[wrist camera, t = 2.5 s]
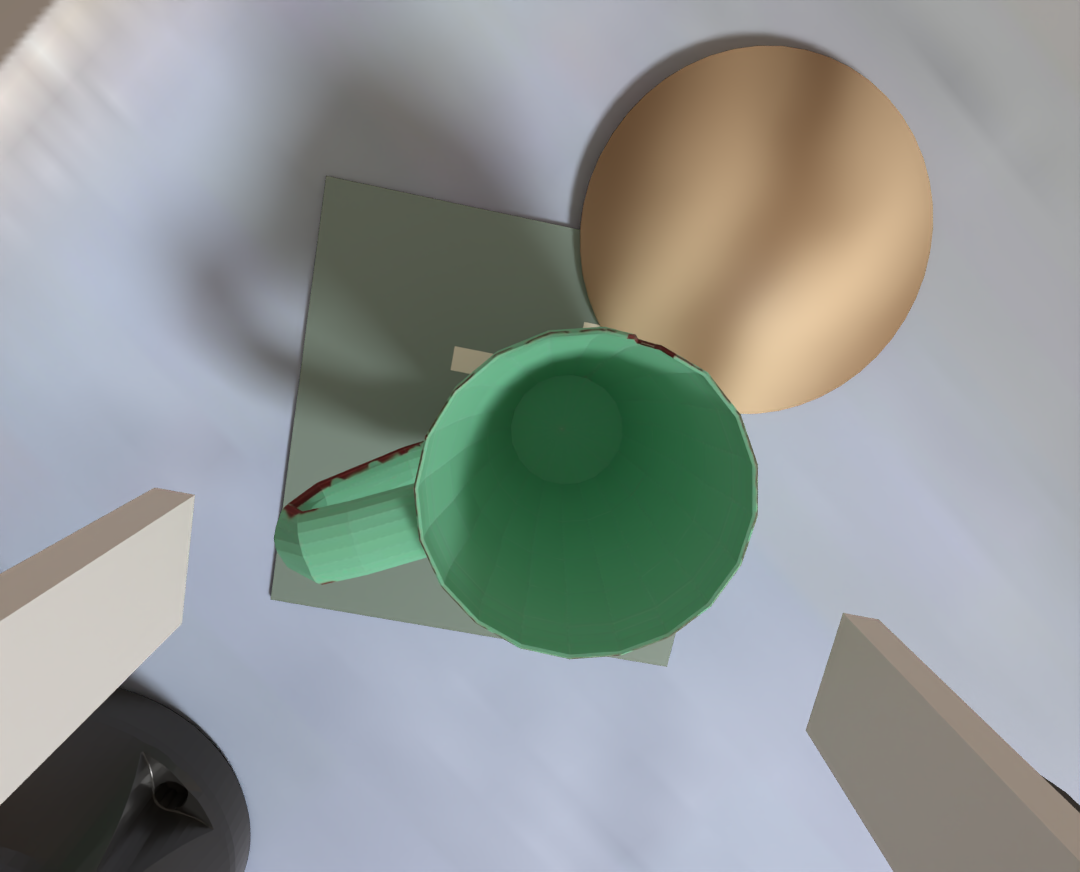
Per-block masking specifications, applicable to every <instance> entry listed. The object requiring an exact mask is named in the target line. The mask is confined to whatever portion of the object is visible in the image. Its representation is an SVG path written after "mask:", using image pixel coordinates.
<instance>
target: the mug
mask: <svg viewBox="0 0 1080 872" xmlns="http://www.w3.org/2000/svg"><path fill="white" fill-rule="evenodd" d="M757 516H758V464H757V461H756V458H755V455H754V452H753V449H752V446H751V443H750V440H749V437H748V435H747V432H746V429H745V426H744V423H743V420H742V417H741V414H740V413H739V412H738V411H737V409H736V408H735V407H734V405H733V404H732V403H731V402H730V400H729V399H728V398H727V396H726V395H725V394H724V393H723V391H722V390H721V389H720V387H719V386H718V385H717V384H716V382H715V381H714V380H713V379H712V377H711V376H710V375H709V373H708V372H706V371H705V370H703V369H701V368H700V367H698V366H696V365H695V364H693V363H691V362H689V361H688V360H686V359H684V358H683V357H681V356H679V355H678V354H676V353H674V352H672V351H671V350H669V349H667V348H666V347H664V346H662V345H659V344H654V343H651V342H647V341H644V340H641V339H638V337H637V336H636V334H632V333H628V332H624V331H620V330H616V329H612V328H608V327H590V328H576V329H561V330H548V331H546V332H543V333H541V334H538V335H536V336H533V337H531V338H528V339H526V340H523V341H521V342H519V343H516V344H514V345H511V346H509V347H506V348H504V349H501V350H499V351H497V352H496V353H494V354H493V355H492V356H491V357H490V358H488V359H487V360H486V361H485V362H484V363H483V364H481V365H480V366H479V367H478V368H477V369H475V370H474V371H473V372H472V373H471V374H470V375H468V376H467V377H466V378H465V379H464V380H462V381H461V382H460V383H459V384H458V385H457V386H455V388H454V389H453V391H452V393H451V394H450V396H449V398H448V399H447V401H446V403H445V404H444V406H443V408H442V409H441V411H440V412H439V414H438V416H437V417H436V419H435V421H434V422H433V424H432V426H431V427H430V429H429V431H428V432H427V434H426V435H425V438H424V441H421V442H418V443H415V444H411V445H408V446H405V447H402V448H400V449H397V450H395V451H392V452H390V453H388V454H385V455H383V456H380V457H378V458H375V459H373V460H371V461H368V462H366V463H363V464H361V465H358V466H356V467H354V468H351V469H349V470H346V471H344V472H342V473H339V474H337V475H334V476H332V477H329V478H327V479H325V480H322V481H320V482H317V483H316V484H314V485H313V486H312V487H310V488H309V489H308V490H306V491H305V492H303V493H302V494H301V495H299V496H298V497H296V498H295V499H294V500H292V501H291V502H290V503H288V504H287V505H286V506H285V507H284V508H283V509H282V511H281V514H280V516H279V519H278V522H277V525H276V530H275V535H274V542H275V547H276V550H277V552H278V554H279V555H280V557H281V559H282V560H283V562H284V563H285V564H286V566H287V567H288V568H290V569H291V570H293V571H295V572H297V573H299V574H301V575H303V576H305V577H306V578H308V579H310V580H312V581H314V582H316V583H318V584H321V585H323V584H328V583H332V582H337V581H341V580H346V579H350V578H355V577H359V576H364V575H368V574H372V573H375V572H379V571H382V570H386V569H389V568H392V567H396V566H399V565H403V564H406V563H409V562H413V561H416V560H420V559H423V558H428V560H429V563H430V565H431V567H432V569H433V571H434V573H435V575H436V578H437V580H438V582H439V584H440V586H441V587H442V588H443V589H444V590H445V592H446V593H447V594H448V595H449V596H450V597H451V598H452V599H453V600H454V601H455V602H456V603H457V604H458V605H459V606H460V607H461V609H462V610H463V611H464V612H465V613H466V614H467V615H468V616H469V617H470V618H471V619H472V620H473V621H474V622H475V623H476V624H478V625H479V626H481V627H483V628H485V629H486V630H488V631H490V632H492V633H494V634H495V635H497V636H499V637H501V638H503V639H504V640H506V641H508V642H510V643H512V644H513V645H515V646H517V647H519V648H521V649H526V650H531V651H535V652H540V653H544V654H549V655H553V656H558V657H563V658H567V659H578V658H592V657H606V656H620V655H624V654H626V653H629V652H632V651H634V650H637V649H640V648H643V647H645V646H648V645H651V644H653V643H656V642H659V641H661V640H664V639H667V638H669V637H671V636H672V635H673V634H675V633H676V632H677V631H679V630H680V629H682V628H683V627H684V626H686V625H687V624H688V623H690V622H691V621H692V620H694V619H695V618H696V617H698V616H699V615H700V614H702V613H703V612H704V611H706V610H707V609H708V608H710V607H711V606H712V604H713V603H714V602H715V600H716V599H717V597H718V596H719V595H720V593H721V592H722V591H723V589H724V588H725V586H726V585H727V584H728V582H729V581H730V580H731V578H732V577H733V576H734V574H735V573H736V571H737V570H738V569H739V567H740V566H741V564H742V561H743V558H744V555H745V552H746V549H747V546H748V543H749V540H750V537H751V534H752V531H753V528H754V525H755V522H756V519H757Z"/></svg>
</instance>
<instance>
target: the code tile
mask: <svg viewBox="0 0 1080 872" xmlns="http://www.w3.org/2000/svg"><path fill="white" fill-rule="evenodd" d="M590 327H601V326H600V324H599V322H598V321H597V319H596V316H595V314H594V311H593V309H592V306H591V304H590V301H589V298H588V295H587V291H586V287H585V283H584V279H583V274H582V266H581V257H580V230H578V229H574V228H569V227H564V226H560V225H555V224H550V223H546V222H541V221H536V220H531V219H527V218H522V217H517V216H513V215H508V214H503V213H499V212H494V211H489V210H485V209H480V208H475V207H470V206H466V205H461V204H456V203H452V202H447V201H442V200H438V199H433V198H428V197H424V196H419V195H414V194H409V193H405V192H400V191H395V190H391V189H386V188H381V187H377V186H372V185H367V184H362V183H358V182H353V181H348V180H344V179H339V178H334V177H330V176H326V181H325V188H324V196H323V204H322V211H321V219H320V227H319V234H318V242H317V250H316V257H315V265H314V272H313V280H312V288H311V295H310V303H309V311H308V318H307V326H306V333H305V341H304V349H303V356H302V364H301V372H300V379H299V387H298V395H297V402H296V410H295V417H294V425H293V433H292V440H291V448H290V456H289V463H288V471H287V478H286V486H285V494H284V501H283V508H284V507H285V506H286V505H287V504H288V503H290V502H291V501H292V500H294V499H295V498H296V497H298V496H299V495H301V494H302V493H303V492H305V491H306V490H308V489H309V488H310V487H312V486H313V485H314V484H316V483H317V482H320V481H322V480H325V479H327V478H329V477H332V476H334V475H337V474H339V473H342V472H344V471H346V470H349V469H351V468H354V467H356V466H358V465H361V464H363V463H366V462H368V461H371V460H373V459H375V458H378V457H380V456H383V455H385V454H388V453H390V452H392V451H395V450H397V449H400V448H402V447H405V446H408V445H411V444H415V443H418V442H421V441H424V438H425V435H426V434H427V432H428V431H429V429H430V427H431V426H432V424H433V422H434V421H435V419H436V417H437V416H438V414H439V412H440V411H441V409H442V408H443V406H444V404H445V403H446V401H447V399H448V398H449V396H450V394H451V393H452V391H453V389H454V388H455V386H457V385H458V384H459V383H460V382H461V381H462V380H464V379H465V378H466V377H467V376H468V375H470V374H471V373H472V372H473V371H474V370H475V369H477V368H478V367H479V366H480V365H481V364H483V363H484V362H485V361H486V360H487V359H488V358H490V357H491V356H492V355H493V354H494V353H496V352H497V351H499V350H501V349H504V348H506V347H509V346H511V345H514V344H516V343H519V342H521V341H523V340H526V339H528V338H531V337H533V336H536V335H538V334H541V333H543V332H546V331H548V330H561V329H576V328H590ZM271 600H277V601H283V602H289V603H295V604H300V605H306V606H312V607H318V608H324V609H330V610H336V611H342V612H348V613H353V614H359V615H365V616H371V617H377V618H383V619H389V620H395V621H401V622H406V623H412V624H418V625H424V626H430V627H436V628H442V629H448V630H454V631H459V632H465V633H471V634H477V635H483V636H489V637H495V638H501V637H499V636H497V635H495V634H494V633H492V632H490V631H488V630H486V629H485V628H483V627H481V626H479V625H478V624H476V623H475V622H474V621H473V620H472V619H471V618H470V617H469V616H468V615H467V614H466V613H465V612H464V611H463V610H462V609H461V607H460V606H459V605H458V604H457V603H456V602H455V601H454V600H453V599H452V598H451V597H450V596H449V595H448V594H447V593H446V592H445V590H444V589H443V588H442V587H441V586H440V584H439V582H438V580H437V578H436V575H435V573H434V571H433V569H432V567H431V565H430V563H429V560H428V558H423V559H420V560H416V561H413V562H409V563H406V564H403V565H399V566H396V567H392V568H389V569H386V570H382V571H379V572H375V573H372V574H368V575H364V576H359V577H355V578H350V579H346V580H341V581H337V582H332V583H328V584H323V585H321V584H318V583H316V582H314V581H312V580H310V579H308V578H306V577H305V576H303V575H301V574H299V573H297V572H295V571H293V570H291V569H290V568H288V567H287V566H286V564H285V563H284V562H283V560H282V559H281V557H280V555H279V554H278V552H277V555H276V562H275V570H274V578H273V585H272V593H271ZM674 637H675V634H673V635H672V636H671V637H669V638H667V639H664V640H661V641H659V642H656V643H653V644H651V645H648V646H645V647H643V648H640V649H637V650H634V651H632V652H629V653H626V654H624V655H620V656H607V657H613V658H619V659H624V660H630V661H636V662H642V663H648V664H654V665H660V666H666V667H667V664H668V660H669V656H670V652H671V649H672V645H673V641H674ZM501 639H503V638H501Z"/></svg>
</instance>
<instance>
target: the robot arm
mask: <svg viewBox="0 0 1080 872" xmlns="http://www.w3.org/2000/svg"><path fill="white" fill-rule="evenodd" d="M194 499H195V495H192V494H187V493H182V492H176V491H171V490H165V489H160V488H153V489H151V490H150V491H148V492H146V493H144V494H142V495H141V496H139V497H137V498H135V499H133V500H132V501H130V502H128V503H126V504H124V505H123V506H121V507H119V508H117V509H116V510H114V511H112V512H110V513H108V514H107V515H105V516H103V517H101V518H99V519H98V520H96V521H94V522H92V523H90V524H89V525H87V526H85V527H83V528H82V529H80V530H78V531H76V532H74V533H73V534H71V535H69V536H67V537H65V538H64V539H62V540H60V541H58V542H56V543H55V544H53V545H51V546H49V547H48V548H46V549H44V550H42V551H40V552H39V553H37V554H35V555H33V556H31V557H30V558H28V559H26V560H24V561H22V562H21V563H19V564H17V565H15V566H14V567H12V568H10V569H8V570H6V571H5V572H3V573H1V574H0V872H244V871H245V867H246V864H247V860H248V855H249V849H250V820H249V814H248V809H247V805H246V801H245V798H244V795H243V792H242V790H241V787H240V785H239V783H238V781H237V778H236V777H235V775H234V773H233V771H232V769H231V768H230V766H229V765H228V763H227V762H226V760H225V759H224V757H223V756H222V755H221V753H220V752H219V751H218V750H217V748H216V747H215V746H214V745H213V744H212V743H211V742H210V741H209V740H208V739H207V738H206V737H205V736H204V735H203V734H202V733H201V732H200V731H199V730H198V729H196V728H195V727H194V726H193V725H192V724H190V723H189V722H188V721H186V720H185V719H184V718H182V717H181V716H179V715H178V714H176V713H175V712H173V711H171V710H170V709H168V708H166V707H164V706H163V705H161V704H159V703H157V702H155V701H152V700H150V699H148V698H146V697H143V696H141V695H138V694H135V693H132V692H129V691H126V690H123V689H119V688H118V687H119V686H120V685H121V684H122V683H123V682H124V681H125V680H126V679H127V678H128V677H129V676H130V675H131V674H132V673H133V672H134V671H135V670H136V669H137V668H138V667H139V666H140V665H141V664H142V663H143V662H144V661H145V660H146V659H147V658H148V657H149V656H150V655H151V654H152V653H153V652H154V651H155V650H156V649H157V648H158V647H159V646H160V645H161V644H162V643H163V642H164V641H165V640H166V639H167V638H168V637H169V636H170V635H171V634H172V633H173V632H174V631H175V630H176V629H177V628H178V627H179V626H180V625H181V624H182V617H183V607H184V597H185V588H186V578H187V568H188V558H189V548H190V538H191V528H192V519H193V509H194ZM806 731H807V733H808V735H809V736H810V738H811V740H812V741H813V743H814V744H815V746H816V748H817V749H818V751H819V752H820V754H821V756H822V757H823V759H824V760H825V762H826V764H827V765H828V767H829V769H830V770H831V772H832V773H833V775H834V777H835V778H836V780H837V781H838V783H839V785H840V786H841V788H842V789H843V791H844V793H845V794H846V796H847V797H848V799H849V801H850V802H851V804H852V806H853V807H854V809H855V810H856V812H857V814H858V815H859V817H860V818H861V820H862V822H863V823H864V825H865V826H866V828H867V830H868V831H869V833H870V834H871V836H872V838H873V839H874V841H875V843H876V844H877V846H878V847H879V849H880V851H881V852H882V854H883V855H884V857H885V859H886V860H887V862H888V863H889V865H890V867H891V868H892V870H893V872H1080V805H1079V804H1077V803H1076V802H1075V801H1074V800H1073V799H1072V798H1071V797H1070V796H1069V795H1068V794H1067V793H1066V792H1064V791H1063V790H1062V789H1060V788H1059V787H1057V786H1056V785H1054V784H1053V783H1051V782H1050V781H1048V780H1047V779H1046V778H1044V777H1043V776H1041V775H1040V774H1039V773H1038V772H1037V771H1036V770H1035V769H1033V768H1032V767H1031V766H1030V765H1029V764H1028V763H1027V762H1026V761H1025V760H1024V759H1023V758H1022V757H1021V756H1020V755H1019V754H1018V753H1017V752H1016V751H1015V750H1014V749H1013V748H1012V747H1011V746H1010V745H1009V744H1008V743H1006V742H1005V741H1004V740H1003V739H1002V738H1001V737H1000V736H999V735H998V734H997V733H996V732H995V731H994V730H993V729H992V728H991V727H990V726H989V725H988V724H987V723H986V722H985V721H984V720H983V719H982V718H981V717H979V716H978V715H977V714H976V713H975V712H974V711H973V710H972V709H971V708H970V707H969V706H968V705H967V704H966V703H965V702H964V701H963V700H962V699H961V698H960V697H959V696H958V695H957V694H956V693H955V692H953V691H952V690H951V689H950V688H949V687H948V686H947V685H946V684H945V683H944V682H943V681H942V680H941V679H940V678H939V677H938V676H937V675H936V674H935V673H934V672H933V671H932V670H931V669H930V668H929V667H928V666H926V665H925V664H924V663H923V662H922V661H921V660H920V659H919V658H918V657H917V656H916V655H915V654H914V653H913V652H912V651H911V650H910V649H909V648H908V647H907V646H906V645H905V644H904V643H903V642H902V641H901V640H899V639H898V638H897V637H896V636H895V635H894V634H893V633H892V632H891V631H890V630H889V629H888V628H887V627H886V626H885V625H884V624H883V623H882V622H881V621H880V620H879V619H873V618H868V617H862V616H857V615H851V614H846V613H843V615H842V618H841V621H840V624H839V627H838V631H837V634H836V637H835V640H834V643H833V646H832V649H831V653H830V656H829V659H828V662H827V665H826V668H825V671H824V675H823V678H822V681H821V684H820V687H819V690H818V693H817V697H816V700H815V703H814V706H813V709H812V712H811V715H810V719H809V722H808V725H807V728H806Z"/></svg>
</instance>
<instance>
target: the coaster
mask: <svg viewBox="0 0 1080 872" xmlns="http://www.w3.org/2000/svg"><path fill="white" fill-rule="evenodd" d="M932 231H933V204H932V196H931V189H930V181H929V177H928V174H927V170H926V166H925V162H924V159H923V156H922V154H921V151H920V149H919V147H918V144H917V142H916V139H915V137H914V135H913V133H912V132H911V130H910V128H909V127H908V125H907V123H906V122H905V120H904V118H903V116H902V115H901V114H900V112H899V111H898V110H897V109H896V107H895V106H894V105H893V104H892V103H891V101H890V100H889V99H888V98H887V96H885V95H884V94H883V93H882V92H881V91H880V90H879V89H878V88H877V87H876V86H875V85H874V84H873V83H871V82H870V81H869V80H868V79H866V78H865V77H863V76H862V75H860V74H859V73H858V72H856V71H855V70H853V69H852V68H850V67H848V66H846V65H844V64H842V63H840V62H838V61H836V60H834V59H832V58H830V57H827V56H824V55H821V54H818V53H814V52H811V51H808V50H804V49H797V48H791V47H785V46H753V47H745V48H738V49H732V50H729V51H725V52H721V53H718V54H714V55H711V56H708V57H706V58H704V59H701V60H699V61H697V62H694V63H692V64H690V65H687V66H686V67H684V68H682V69H681V70H679V71H677V72H676V73H674V74H672V75H671V76H669V77H668V78H666V79H665V80H663V81H662V82H661V83H660V84H658V85H657V86H656V87H655V88H653V89H652V90H651V91H650V92H648V93H647V94H646V95H645V96H644V97H643V98H642V99H641V100H640V101H639V102H638V103H637V104H636V105H635V106H634V107H633V108H632V109H631V110H630V111H629V113H628V114H627V115H626V116H625V118H624V119H623V121H622V122H621V123H620V125H619V126H618V127H617V129H616V130H615V131H614V133H613V134H612V136H611V137H610V139H609V141H608V143H607V144H606V146H605V148H604V150H603V152H602V153H601V155H600V157H599V159H598V161H597V164H596V166H595V169H594V171H593V174H592V176H591V178H590V181H589V185H588V188H587V192H586V196H585V200H584V203H583V210H582V217H581V224H580V257H581V266H582V274H583V279H584V283H585V287H586V291H587V295H588V298H589V301H590V304H591V306H592V309H593V311H594V314H595V316H596V319H597V321H598V322H599V324H600V326H601V327H608V328H612V329H616V330H620V331H624V332H628V333H632V334H636V336H637V337H638V339H641V340H644V341H647V342H651V343H654V344H659V345H662V346H664V347H666V348H667V349H669V350H671V351H672V352H674V353H676V354H678V355H679V356H681V357H683V358H684V359H686V360H688V361H689V362H691V363H693V364H695V365H696V366H698V367H700V368H701V369H703V370H705V371H706V372H708V373H709V375H710V376H711V377H712V379H713V380H714V381H715V382H716V384H717V385H718V386H719V387H720V389H721V390H722V391H723V393H724V394H725V395H726V396H727V398H728V399H729V400H730V402H731V403H732V404H733V405H734V407H735V408H736V409H737V411H738V412H739V413H740V414H758V413H765V412H773V411H779V410H783V409H787V408H791V407H795V406H798V405H801V404H804V403H806V402H809V401H811V400H814V399H816V398H819V397H821V396H823V395H825V394H827V393H829V392H830V391H832V390H834V389H836V388H838V387H839V386H841V385H842V384H844V383H845V382H847V381H848V380H849V379H851V378H852V377H854V376H855V375H856V374H858V373H859V372H860V371H861V370H862V369H864V368H865V367H866V366H867V365H868V364H869V363H870V362H871V361H872V360H873V359H874V358H876V357H877V355H878V354H879V353H880V352H881V351H882V350H883V348H884V347H885V346H886V345H887V344H888V343H889V342H890V340H891V339H892V338H893V336H894V335H895V333H896V332H897V330H898V329H899V327H900V326H901V324H902V323H903V322H904V320H905V318H906V316H907V314H908V313H909V311H910V309H911V307H912V305H913V303H914V301H915V299H916V297H917V294H918V291H919V289H920V286H921V283H922V281H923V278H924V275H925V271H926V267H927V263H928V258H929V254H930V248H931V240H932Z"/></svg>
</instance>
